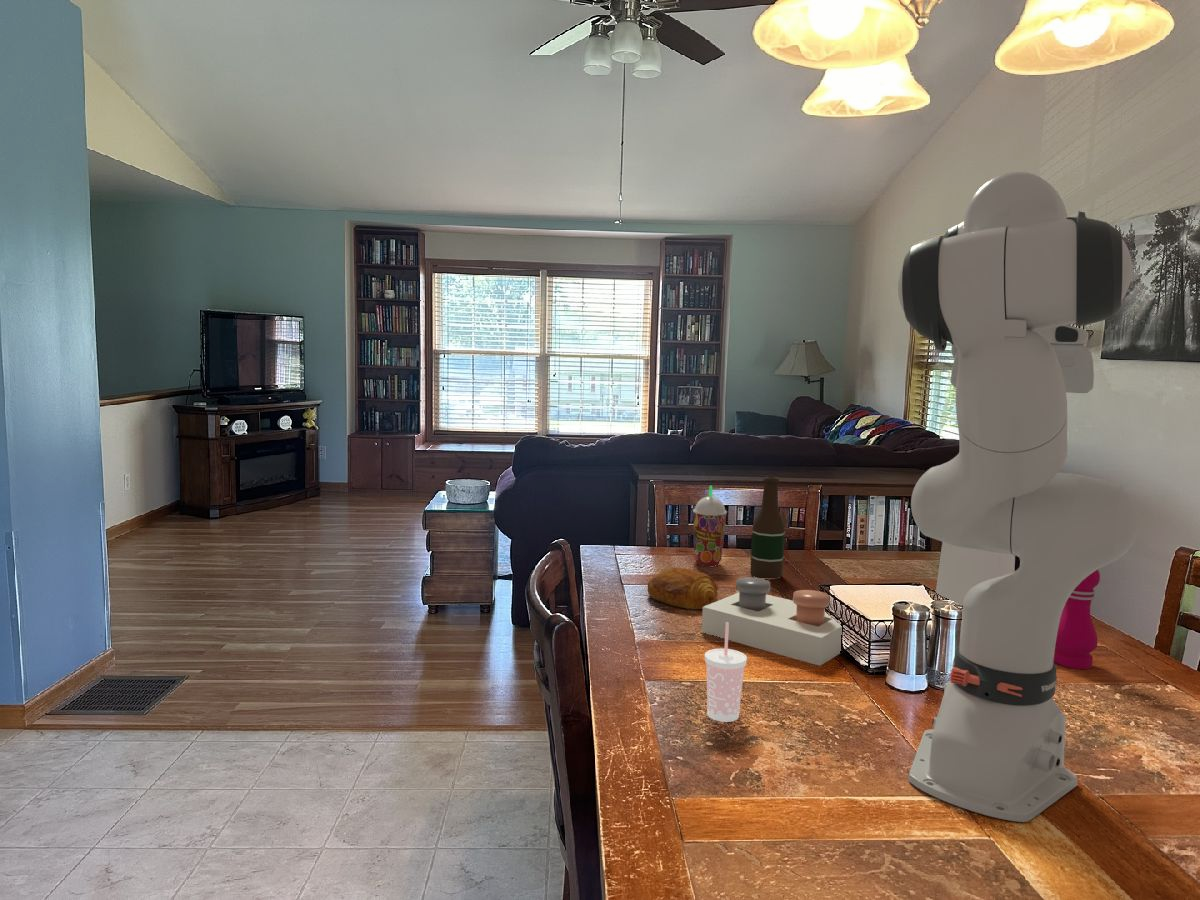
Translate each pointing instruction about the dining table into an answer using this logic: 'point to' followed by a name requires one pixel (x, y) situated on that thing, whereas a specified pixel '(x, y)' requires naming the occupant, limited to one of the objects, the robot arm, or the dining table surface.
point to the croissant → (683, 588)
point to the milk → (969, 569)
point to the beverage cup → (724, 681)
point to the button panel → (774, 629)
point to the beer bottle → (768, 534)
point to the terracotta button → (811, 606)
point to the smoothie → (709, 530)
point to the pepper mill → (1077, 627)
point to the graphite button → (752, 592)
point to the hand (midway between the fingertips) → (1016, 419)
